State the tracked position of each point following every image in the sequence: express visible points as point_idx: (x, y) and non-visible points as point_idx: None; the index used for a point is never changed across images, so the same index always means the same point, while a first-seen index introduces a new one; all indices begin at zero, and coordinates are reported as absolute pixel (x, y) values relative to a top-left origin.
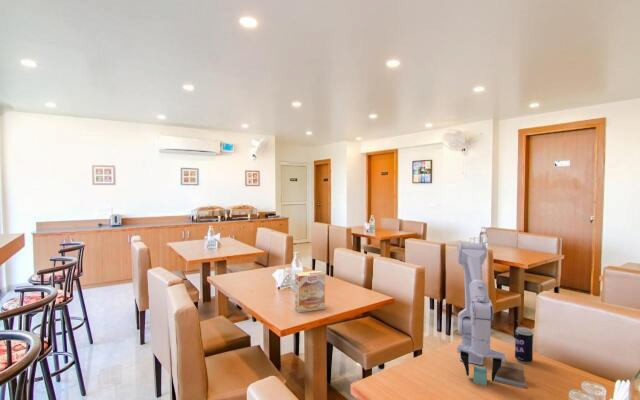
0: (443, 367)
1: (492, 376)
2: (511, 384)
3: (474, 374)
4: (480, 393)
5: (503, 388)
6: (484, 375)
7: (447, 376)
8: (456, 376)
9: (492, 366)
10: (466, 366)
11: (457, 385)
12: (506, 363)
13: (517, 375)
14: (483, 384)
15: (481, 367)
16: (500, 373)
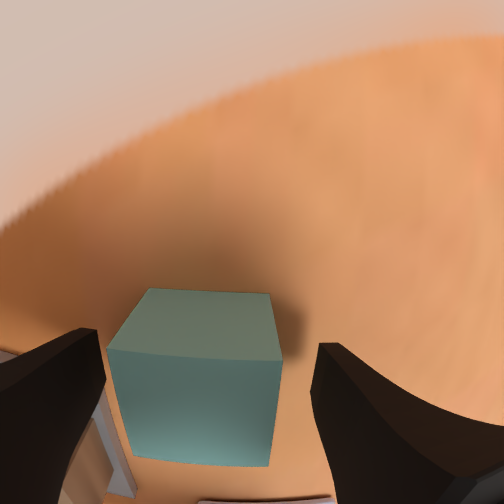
0: (454, 396)
1: (65, 345)
2: (12, 356)
3: (266, 337)
4: (208, 119)
5: (38, 295)
6: (141, 339)
7: (463, 298)
8: (402, 332)
9: (64, 462)
10: (387, 392)
11: (413, 184)
12: None
13: None
14: (175, 291)
15: (185, 459)
16: None
